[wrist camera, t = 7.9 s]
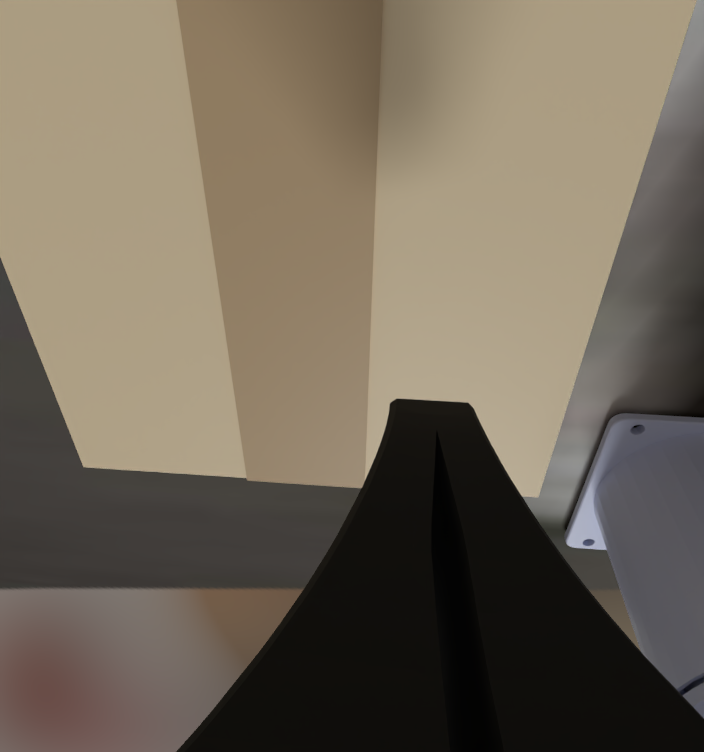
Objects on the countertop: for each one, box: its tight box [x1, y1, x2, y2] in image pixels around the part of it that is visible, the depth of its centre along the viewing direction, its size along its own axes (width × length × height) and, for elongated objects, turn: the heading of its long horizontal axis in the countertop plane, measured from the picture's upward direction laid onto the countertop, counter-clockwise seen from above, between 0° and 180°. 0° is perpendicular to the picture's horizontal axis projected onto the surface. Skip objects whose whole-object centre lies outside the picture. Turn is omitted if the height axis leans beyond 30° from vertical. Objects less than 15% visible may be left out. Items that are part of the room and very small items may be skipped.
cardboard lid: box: [0, 0, 697, 497], centre depth 13 cm, size 14×15×1 cm
